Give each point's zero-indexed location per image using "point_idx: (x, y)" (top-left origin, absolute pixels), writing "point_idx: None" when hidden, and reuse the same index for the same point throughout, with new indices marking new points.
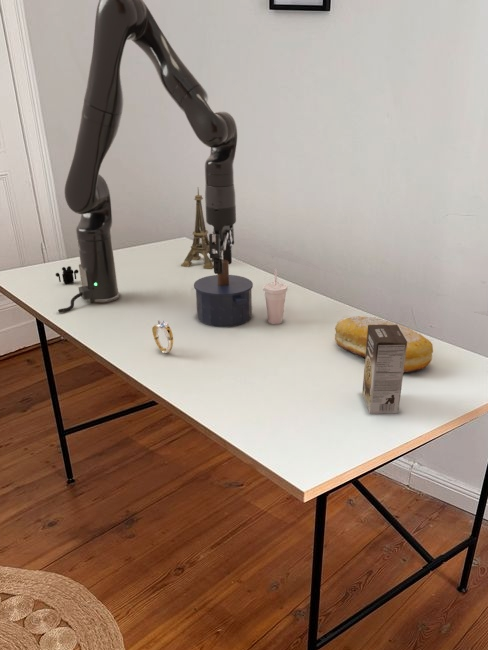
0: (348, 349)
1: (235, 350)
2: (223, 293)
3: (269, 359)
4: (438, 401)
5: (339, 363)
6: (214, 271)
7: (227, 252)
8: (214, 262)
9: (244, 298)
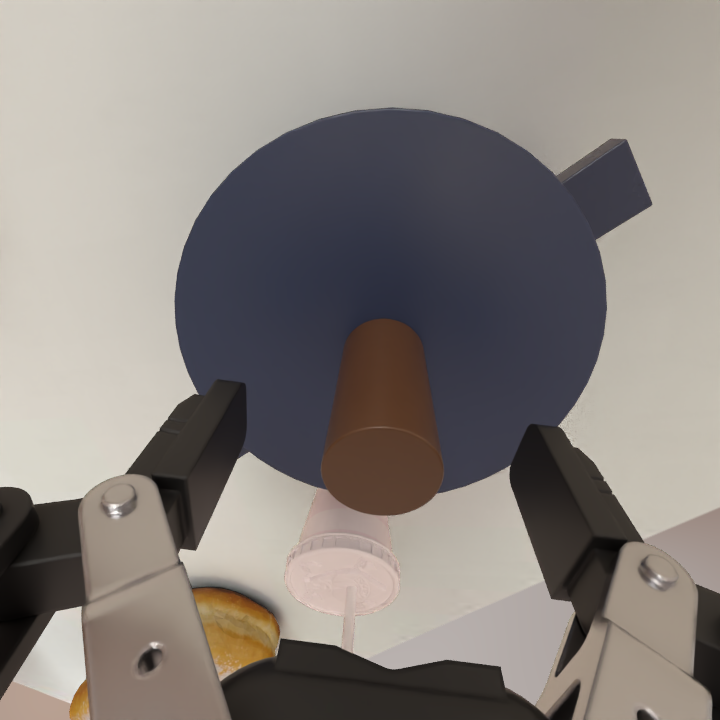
0: None
1: (59, 356)
2: (198, 374)
3: (48, 452)
4: (35, 668)
5: None
6: (214, 387)
7: (554, 546)
8: (134, 464)
9: (243, 452)
